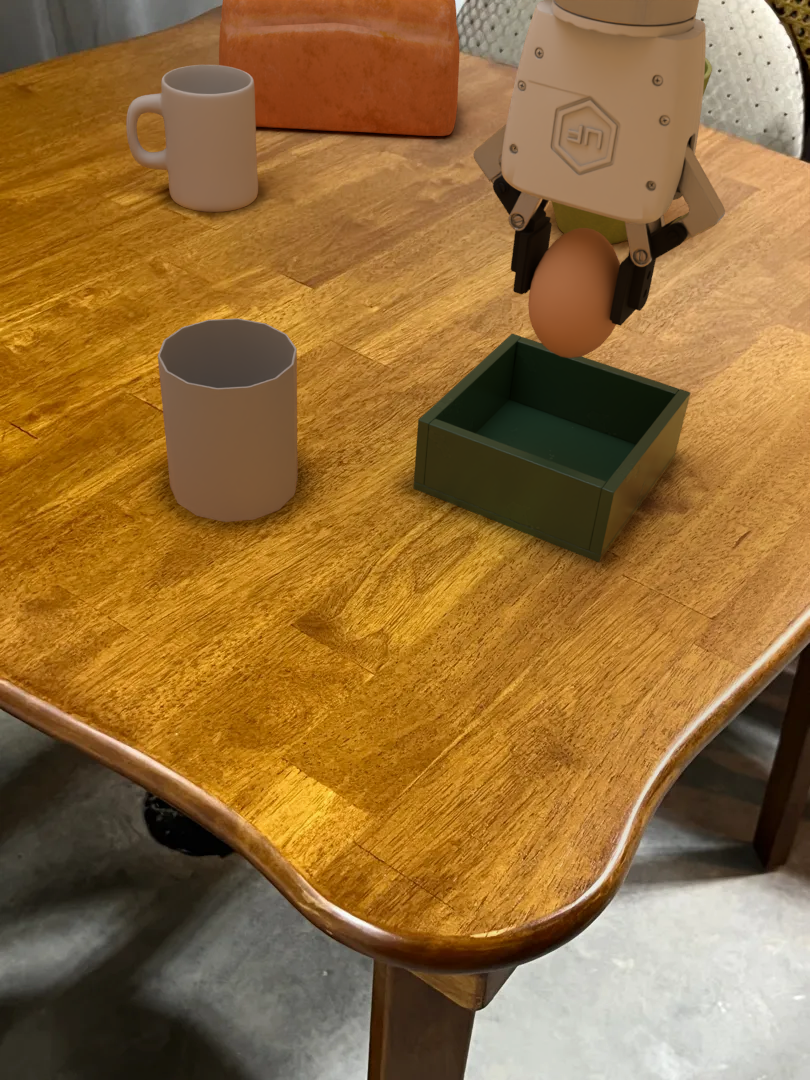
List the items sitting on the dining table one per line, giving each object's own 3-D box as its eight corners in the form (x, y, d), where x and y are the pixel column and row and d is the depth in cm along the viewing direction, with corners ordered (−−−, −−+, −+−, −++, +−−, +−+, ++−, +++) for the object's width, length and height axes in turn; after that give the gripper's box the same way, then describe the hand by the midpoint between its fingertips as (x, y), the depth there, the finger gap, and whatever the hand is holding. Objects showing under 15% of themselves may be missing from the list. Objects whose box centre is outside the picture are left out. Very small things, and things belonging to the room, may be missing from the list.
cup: (145, 482, 77) (130, 350, 70) (236, 432, 82) (230, 305, 75) (232, 539, 73) (225, 405, 66) (323, 483, 78) (324, 353, 71)
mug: (257, 176, 116) (253, 64, 109) (259, 212, 110) (256, 95, 103) (135, 177, 114) (123, 62, 107) (130, 213, 108) (118, 94, 101)
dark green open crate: (674, 459, 82) (691, 392, 78) (599, 563, 73) (613, 492, 69) (503, 398, 87) (512, 332, 83) (412, 488, 78) (417, 419, 74)
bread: (230, 87, 136) (223, -61, 125) (452, 99, 136) (464, -47, 126) (215, 130, 125) (207, -27, 115) (456, 143, 126) (469, -12, 116)
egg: (536, 380, 71) (554, 254, 66) (511, 333, 75) (526, 211, 70) (624, 374, 72) (649, 250, 67) (595, 328, 76) (616, 208, 71)
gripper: (446, -30, 60) (424, 284, 72) (767, 37, 54) (686, 369, 66) (510, -56, 65) (480, 241, 77) (810, 3, 59) (728, 316, 71)
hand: (575, 297), depth 71 cm, fingers closed on egg, 5 cm apart
